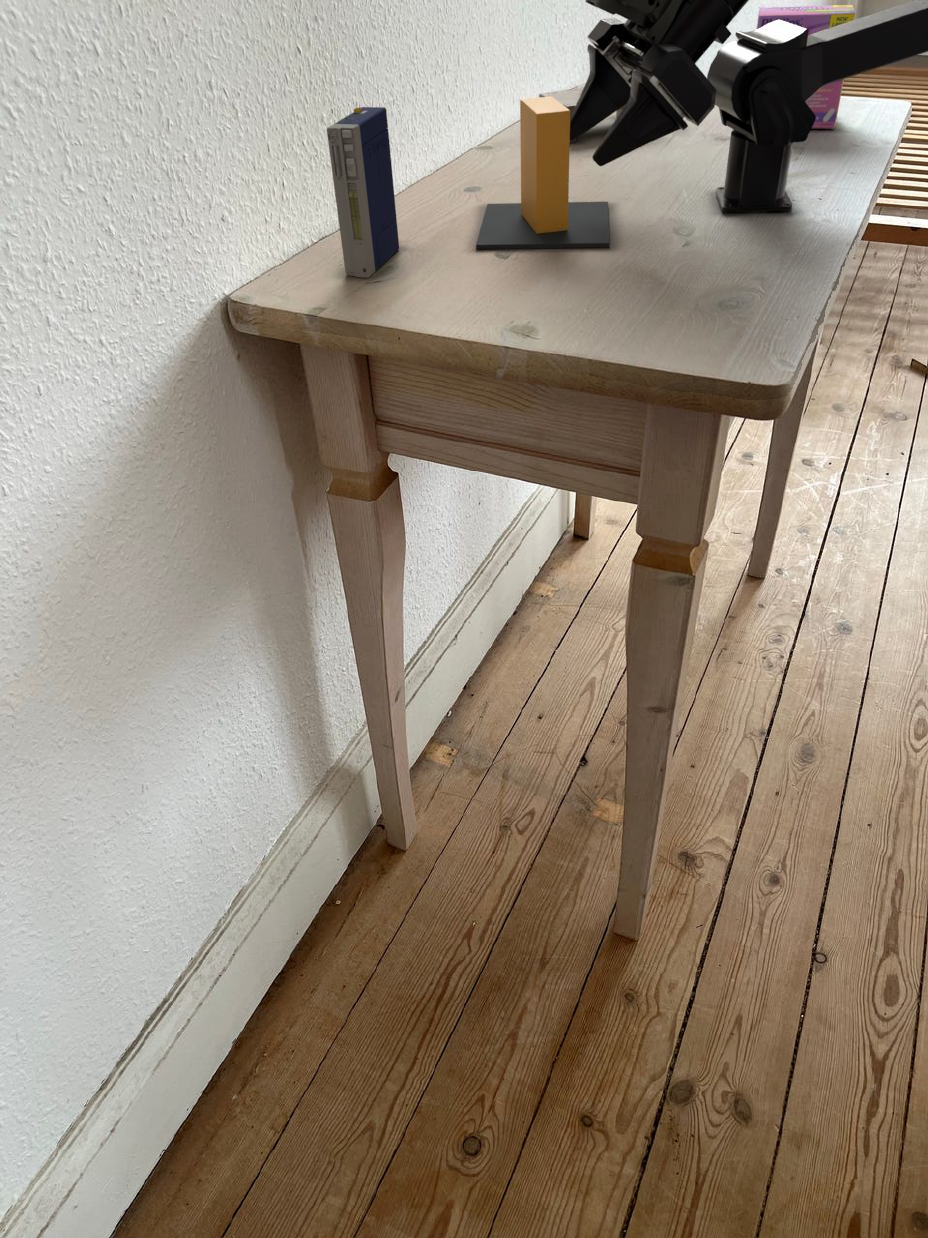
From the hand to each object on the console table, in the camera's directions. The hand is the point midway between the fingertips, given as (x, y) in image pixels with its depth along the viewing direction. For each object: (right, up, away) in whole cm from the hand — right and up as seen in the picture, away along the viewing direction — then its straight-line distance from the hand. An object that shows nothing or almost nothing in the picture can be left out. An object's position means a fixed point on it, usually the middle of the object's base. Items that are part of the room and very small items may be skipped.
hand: (580, 149), depth 85 cm
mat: (-3, -5, +4) cm, 7 cm away
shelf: (+6, +18, +30) cm, 36 cm away
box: (+29, +17, +28) cm, 43 cm away
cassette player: (-19, -11, -1) cm, 22 cm away
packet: (-3, -5, +4) cm, 7 cm away
